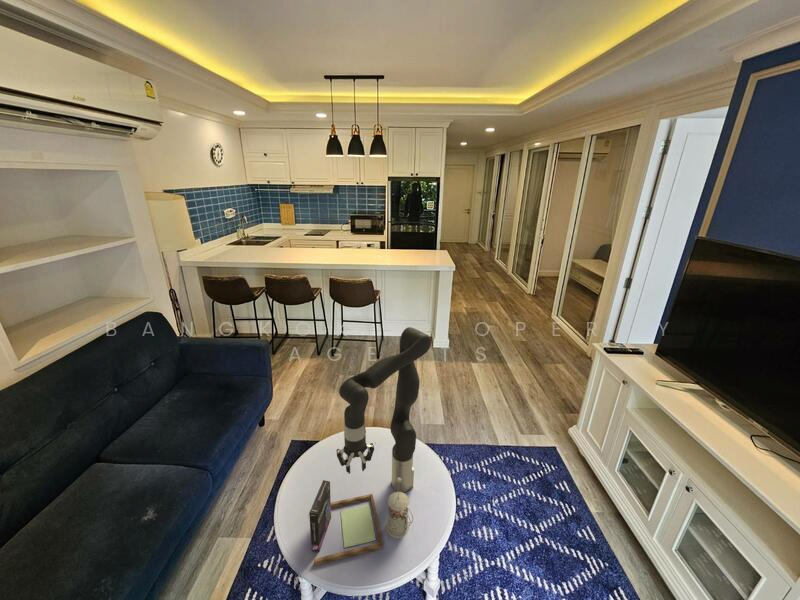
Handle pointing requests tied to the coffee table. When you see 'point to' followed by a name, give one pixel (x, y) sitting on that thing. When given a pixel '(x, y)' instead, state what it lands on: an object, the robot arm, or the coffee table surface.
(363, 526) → the bay
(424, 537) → the coffee table surface
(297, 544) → the coffee table surface
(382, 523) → the coffee table surface
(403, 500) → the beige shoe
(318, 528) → the box
